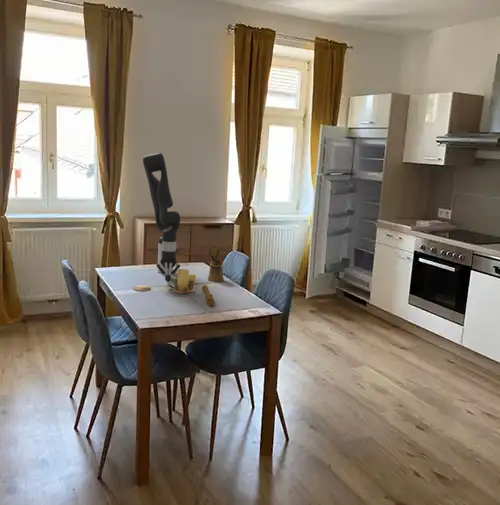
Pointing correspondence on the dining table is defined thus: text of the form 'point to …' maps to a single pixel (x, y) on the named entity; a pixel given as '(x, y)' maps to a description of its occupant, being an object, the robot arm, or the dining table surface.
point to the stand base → (182, 294)
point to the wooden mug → (215, 266)
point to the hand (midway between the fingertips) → (167, 281)
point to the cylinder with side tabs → (184, 279)
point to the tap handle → (208, 296)
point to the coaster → (141, 288)
